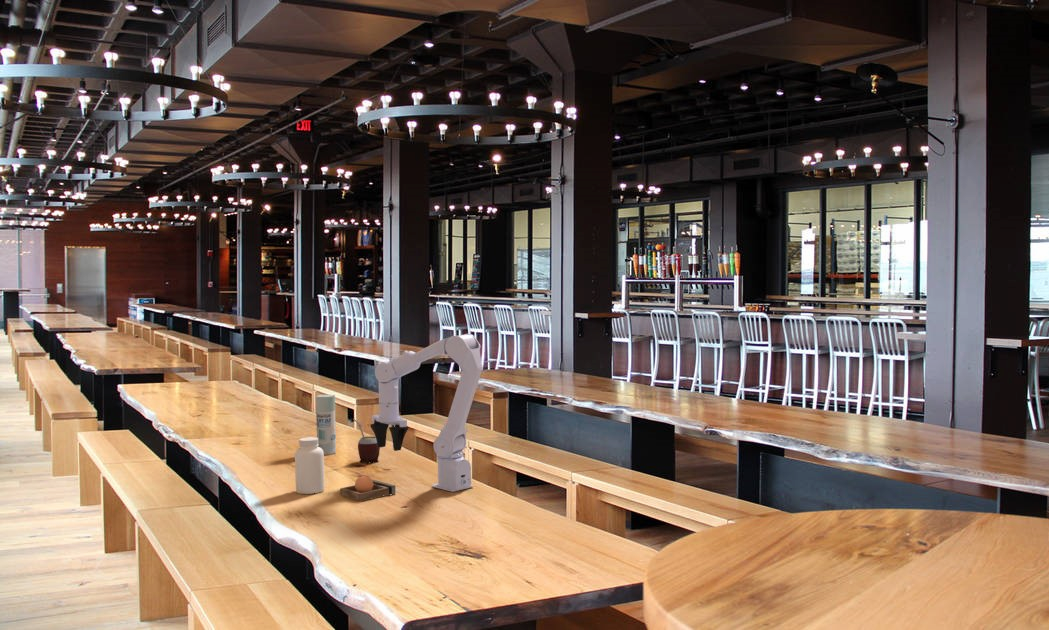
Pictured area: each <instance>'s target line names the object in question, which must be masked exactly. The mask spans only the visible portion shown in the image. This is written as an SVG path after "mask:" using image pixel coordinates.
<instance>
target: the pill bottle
mask: <svg viewBox="0 0 1049 630" xmlns="http://www.w3.org/2000/svg"><path fill="white" fill-rule="evenodd" d="M298 445H299V448H298V449H297V450H296V451H295V453H294V463H295V464H294V468H295V471H294V473H295V475H294V477H295V492H296V493H298V494H299V495H300V494H302V495H313V494H314V493H315V494H318V493H322V492H324V490H325V455H324V452H323V450H322V449H321V448H320V447H318V445H319V444H318V438H317V436H316V437H315V436H311V437H309V436H308V437H303V438H299V439H298Z"/></svg>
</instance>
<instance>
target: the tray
mask: <svg viewBox="0 0 1049 630" xmlns="http://www.w3.org/2000/svg"><path fill="white" fill-rule="evenodd" d="M340 495H341V497H343V496H344V498H347V497H348V498H347V499H350V498H351V500H353V499H354V500H353V501H357V500H358V501H357V502H360V501H361V502H364V501H363V500H365V501H368V500H367V499H369V500H372V499H371V498H374V499H376V498H375V497H378V498H380V497H379V496H382V497H384V496H383V495H387V496H390V494H389V488H388V487H384V486H381V485H377V484H373V488H372V490H371V491H369V492H364V493H359V492H358V491H357V490H356V488H355V484H354V485H350V486H344V487H340V488H339V496H340Z"/></svg>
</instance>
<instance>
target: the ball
mask: <svg viewBox="0 0 1049 630" xmlns="http://www.w3.org/2000/svg"><path fill="white" fill-rule="evenodd" d="M372 479H373V478H371V477H370V476H368V475H361V476H359V477H358V478H356V480H355V482H354V485H355V488H356V490H357V491H358V492H359V493H364V492H369V491H371V490H372V488H373V481H372Z"/></svg>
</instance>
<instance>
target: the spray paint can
mask: <svg viewBox="0 0 1049 630" xmlns="http://www.w3.org/2000/svg"><path fill="white" fill-rule="evenodd" d="M315 412H316V414H315V415H316V416H315V417H316V419H315V420H316V438H318V444H319V445H318V447H320V448H321V449H322V450H323V452H324V456H329V455H331V456H332V455H335V454H336V452H337V450H336V445H337V444H336V442H337V441H336V435H337V434H336V395H335V394H318V395H316V396H315Z"/></svg>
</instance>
